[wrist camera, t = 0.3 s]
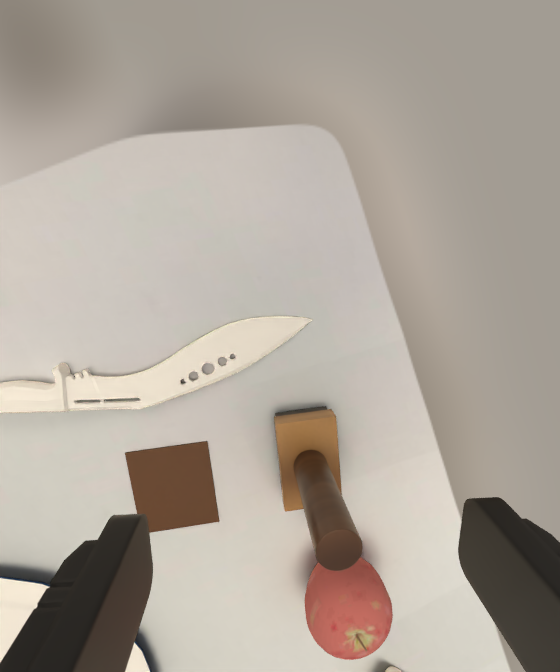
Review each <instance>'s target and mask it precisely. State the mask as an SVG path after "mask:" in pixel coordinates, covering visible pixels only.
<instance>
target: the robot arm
mask: <svg viewBox="0 0 560 672" xmlns="http://www.w3.org/2000/svg"><path fill="white" fill-rule="evenodd" d="M458 553H459V560H460V564H461V567H462V570H463V572H464V574H465V576H466V578H467V580H468V581H469V583H470V584H471V586H472V588H473V589H474V591H475V592H476V594H477V595H478V597H479V599H480V600H481V602H482V603H483V605H484V607H485V608H486V610H487V611H488V613H489V614H490V616H491V618H492V619H493V621H494V622H495V624H496V625H497V627H498V629H499V630H500V631H501V633H502V635H503V636H504V638H505V640H506V641H507V643H508V644H509V646H510V647H511V649H512V650H513V652H514V654H515V655H516V657H517V659H518V660H519V661H520V663H521V665H522V666H523V668H524V670H525V671H526V672H560V542H558V541H557V540H556V539H555V538H554V537H553V536H552V535H551V534H550V533H548V532H547V531H545V530H543V529H542V528H540V527H539V526H537V525H536V524H534V523H532V522H531V521H529V520H528V519H521V518H520V517H519V515H518V514H517V513H516V512H514V510H513V509H512V508H511V507H510V506H509V505H508V504H507V503H506V502H505V501H504V500H502V499H501V498H498V497H493V498H472V499H467V500H466V501H465V503H464V509H463V516H462V523H461V531H460V539H459V547H458ZM152 576H153V562H152V554H151V545H150V536H149V527H148V519H147V516H146V515H145V514H128V515H113V516H112V517H111V518H110V519H109V520H108V522H107V524H106V526H105V528H104V529H103V531H102V533H101V535H100V537H99V538H98V540H91V541H85V542H84V543H83V544H81V545H80V546H79V547H78V548H77V549H76V550H75V551H74V552H73V553H72V554H71V555H70V556H68V557H67V558H66V559H65V560H64V562H63V563H62V565H61V566H60V568H59V570H58V571H57V573H56V574H55V576H54V578H53V579H52V581H51V582H50V587H49V588H47V589H46V590H45V592H44V594H43V595H42V597H41V598H40V600H39V602H38V603H37V608H36V609H34V610H33V611H32V613H31V614H30V616H29V618H28V619H27V621H26V622H25V624H24V626H23V627H22V629H21V630H20V632H19V634H18V635H17V637H16V638H15V640H14V642H13V643H12V645H11V646H10V648H9V650H8V651H7V653H6V654H5V656H4V658H3V659H2V661H1V662H0V672H125V670H126V667H127V664H128V661H129V658H130V655H131V651H132V648H133V645H134V642H135V639H136V636H137V633H138V629H139V626H140V623H141V620H142V617H143V614H144V610H145V607H146V604H147V601H148V598H149V594H150V590H151V584H152Z"/></svg>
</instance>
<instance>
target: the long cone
mask: <svg viewBox="0 0 560 672" xmlns="http://www.w3.org/2000/svg"><path fill="white" fill-rule="evenodd" d="M385 672H402V671H401V670H399V669H398V668H396V667H392V666H391V667H388V668H387V669H386V671H385Z"/></svg>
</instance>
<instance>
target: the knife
mask: <svg viewBox="0 0 560 672" xmlns="http://www.w3.org/2000/svg"><path fill="white" fill-rule="evenodd" d="M312 320H313V319H309V318H304V317H294V316H269V317H257V318H250V319H244V320H240V321H237V322H233V323H230V324H227V325H225V326H223V327H220V328H218V329H216V330H214V331H212V332H210V333H208V334H206V335H204V336H203V337H201V338H199V339H197V340H196V341H194V342H192V343H191V344H189V345H188V346H186V347H185V348H183V349H181V350H180V351H178V352H177V353H175V354H174V355H173V356H171V357H170V358H168V359H167V360H165V361H163V362H161V363H159V364H158V365H156V366H154V367H152V368H150V369H147V370H144V371H142V372H139V373H136V374H132V375H127V376H118V377H103V376H92V375H91V374H90V372H89V370H88V369H85V370H83V371H82V372H83V374H84V377H83V376H82V374H81V372H77V373H75V374H74V375H75V377H76V378H74V376H73V374H72V375H71V372H70V368H69V367H68V365H67V364H66V363H60V364H59V365H57V366H56V367H54V368H53V370H52V373H53V375H54V378H55V383H53V384H49V383H43V382H36V381H26V380H17V381H10V382H3V383H0V413H30V412H68V411H71V410H105V409H142V408H145V407H148V406H152V405H156V404H159V403H162V402H165V401H167V400H170V399H173V398H176V397H179V396H181V395H184V394H187V393H190V392H192V391H195V390H197V389H200V388H203V387H205V386H207V385H210V384H212V383H215V382H217V381H219V380H222V379H224V378H226V377H228V376H231V375H233V374H235V373H237V372H239V371H241V370H242V369H244V368H246V367H248V366H250V365H252V364H253V363H255V362H256V361H258V360H260V359H261V358H263V357H265V356H266V355H267V354H269V353H270V352H272V351H273V350H275V349H276V348H278V347H279V346H280V345H282V344H283V343H285V342H286V341H287V340H289V339H290V338H291V337H293V336H294V335H295V334H296V333H298V332H299V331H300V330H301V329H303V328H304V327H305V326H306V325H307V324H308V323H309V322H311V321H312ZM231 354H234V355H236V358H234V359H231V358H230V355H231ZM221 357H224V358H226V359H227V362H226V365H223V366H221V365H220V364H218V358H221ZM204 363H211V364H213V365H214V369H215V370H214V371H213V372H212V374H205V373H204V372H202V366H203V365H204ZM193 371H195V372H196V373H197V374H198V379H196V380H194V381H192V380H191V379H189V373H191V372H193ZM181 379H184V381H185V383H184V384H182V383H181ZM136 397H139V398H140V400H135V401H105V399H123V398H136ZM93 399H100V401H101V402H77V401H76V400H93Z"/></svg>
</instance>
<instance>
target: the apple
mask: <svg viewBox="0 0 560 672" xmlns="http://www.w3.org/2000/svg"><path fill="white" fill-rule="evenodd" d="M305 611H306V620H307V624H308V628H309V630H310V632H311V634H312V636H313V638H314V640H315V641H316V642H317V644H318V645H319V646H320V647H322V648H323V649H324V650H325V651H326V652H327V653H329V654H331V655H332V656H334V657H337V658H341V659H349V660H353V659H359V658H363V657H365V656H368V655H369V654H371V653H373V652H374V651H376V650H377V649H378V648H379V647H380V646H381V645H382V643H383V642H384V641H385V639H386V638H387V636H388V634H389V631H390V627H391V623H392V616H393V615H392V604H391V600H390V597H389V595H388V593H387V590H386V588H385V586H384V584H383V582H382V580H381V578H380V576H379V574H378V573H377V572H376V570H375V569H374V567H373V566H372V565H371V564H370V563H368V562H367V561H365V560H364V559H362V558H361V557H360V558H359V559H358V561H357V562H356V563H355V564H354V565H353V566H351V567H349V568H347V569H345V570H341V571H332V570H328V569H326V568H324V567H323V566H321V564H320V563H319V562H318V563H317V565H316V566H315V568H314V569H313V571H312V574H311V576H310V578H309V581H308V585H307V590H306V595H305Z"/></svg>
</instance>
